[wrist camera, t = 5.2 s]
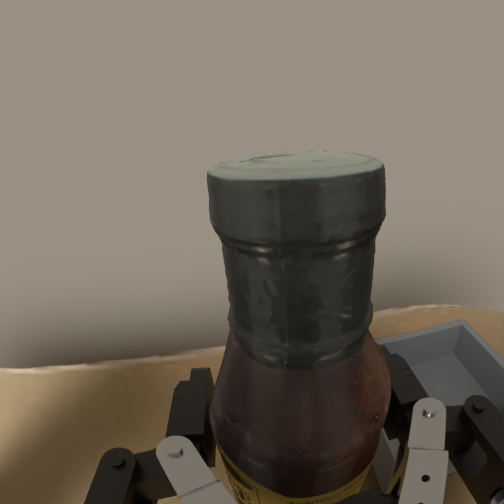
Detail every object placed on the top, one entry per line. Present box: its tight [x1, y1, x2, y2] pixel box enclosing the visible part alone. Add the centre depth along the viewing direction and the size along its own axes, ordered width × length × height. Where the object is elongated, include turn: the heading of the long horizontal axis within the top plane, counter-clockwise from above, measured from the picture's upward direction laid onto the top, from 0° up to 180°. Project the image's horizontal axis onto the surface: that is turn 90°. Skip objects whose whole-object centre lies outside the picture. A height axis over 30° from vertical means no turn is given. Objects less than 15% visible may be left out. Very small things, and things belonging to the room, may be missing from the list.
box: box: [372, 319, 504, 494], centre depth 20 cm, size 13×13×4 cm
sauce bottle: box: [207, 151, 391, 504], centre depth 11 cm, size 6×6×20 cm
